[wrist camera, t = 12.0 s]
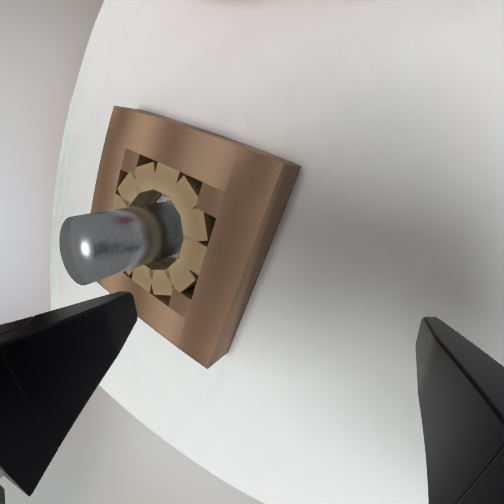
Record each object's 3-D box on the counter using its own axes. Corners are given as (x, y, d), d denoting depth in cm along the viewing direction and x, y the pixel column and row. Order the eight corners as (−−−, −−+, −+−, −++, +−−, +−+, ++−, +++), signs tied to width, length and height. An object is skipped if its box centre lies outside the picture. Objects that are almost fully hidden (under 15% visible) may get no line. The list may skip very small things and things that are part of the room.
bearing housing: (300, 166, 21) (283, 163, 18) (227, 352, 26) (207, 368, 24) (139, 109, 26) (114, 105, 23) (106, 263, 32) (83, 269, 29)
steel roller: (207, 236, 25) (104, 267, 16) (174, 259, 27) (77, 294, 18) (182, 190, 25) (76, 203, 17) (152, 217, 27) (53, 238, 19)
